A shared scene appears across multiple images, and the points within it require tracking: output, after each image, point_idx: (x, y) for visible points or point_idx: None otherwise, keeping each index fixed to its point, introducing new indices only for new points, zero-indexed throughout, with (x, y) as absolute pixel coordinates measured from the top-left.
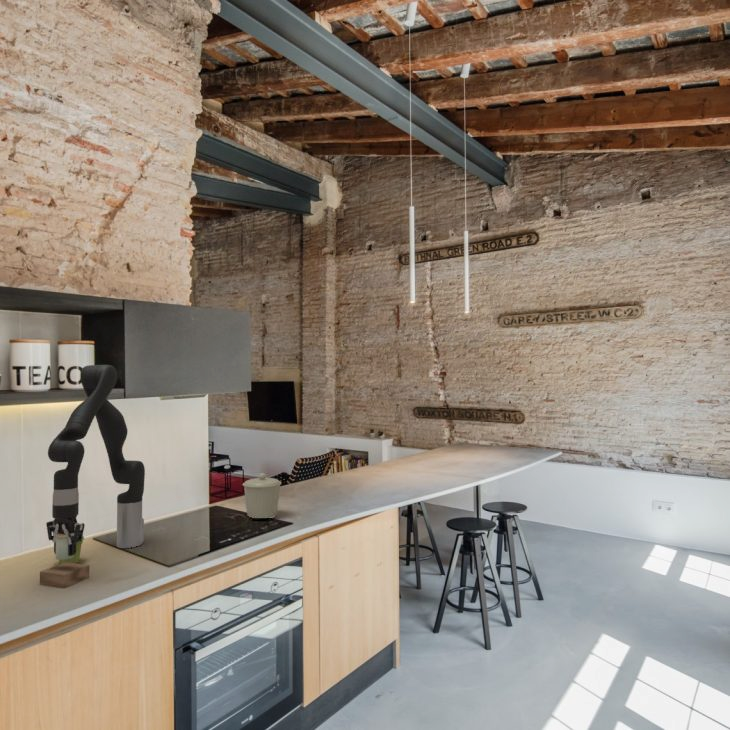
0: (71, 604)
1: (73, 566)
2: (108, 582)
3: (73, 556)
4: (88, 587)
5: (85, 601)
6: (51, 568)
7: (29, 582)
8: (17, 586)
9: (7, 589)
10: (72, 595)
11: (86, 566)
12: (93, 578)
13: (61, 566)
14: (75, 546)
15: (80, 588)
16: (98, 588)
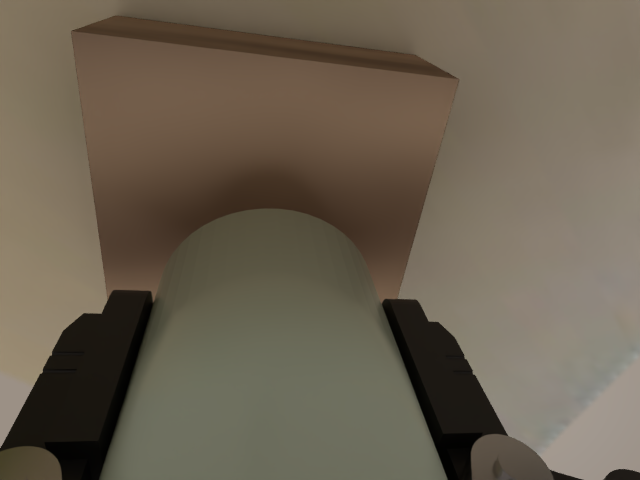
0: (532, 405)
1: (310, 160)
2: (624, 128)
3: (366, 264)
4: (517, 236)
5: (583, 371)
6: (129, 255)
7: (12, 259)
8: (17, 329)
9: (13, 373)
10: (481, 340)
11: (445, 118)
12: (467, 72)
13: (176, 186)
14: (484, 413)
15: (473, 260)
16: (589, 234)
